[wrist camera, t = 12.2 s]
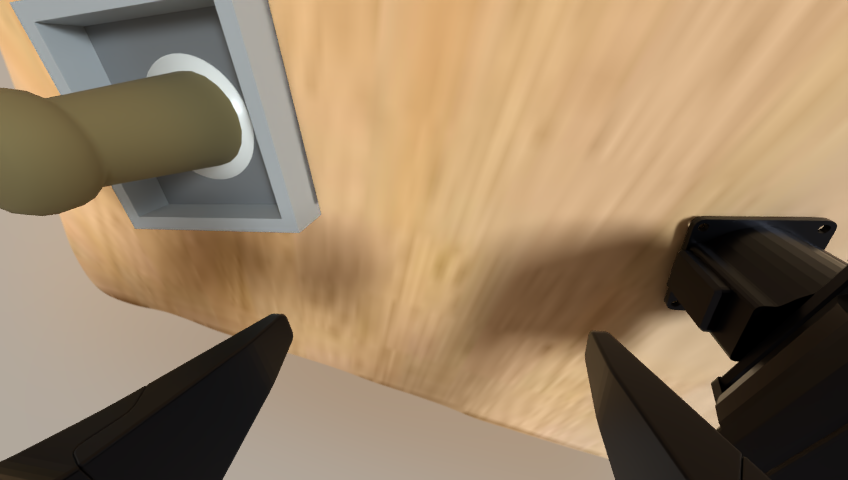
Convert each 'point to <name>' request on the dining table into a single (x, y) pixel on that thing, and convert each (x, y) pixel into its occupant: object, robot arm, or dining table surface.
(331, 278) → the dining table surface
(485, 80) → the dining table surface
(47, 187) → the cork
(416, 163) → the dining table surface
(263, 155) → the walled pen
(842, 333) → the robot arm
